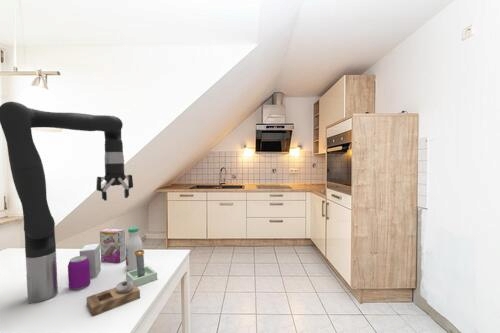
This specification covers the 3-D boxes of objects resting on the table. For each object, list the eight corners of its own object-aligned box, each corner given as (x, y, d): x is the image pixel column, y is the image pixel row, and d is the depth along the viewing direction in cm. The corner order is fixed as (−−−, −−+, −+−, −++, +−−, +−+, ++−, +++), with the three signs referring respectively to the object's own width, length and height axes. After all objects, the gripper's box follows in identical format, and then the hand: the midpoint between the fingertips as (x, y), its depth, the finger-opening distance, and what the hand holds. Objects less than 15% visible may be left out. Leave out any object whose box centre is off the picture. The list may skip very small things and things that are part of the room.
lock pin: (135, 278, 113) (133, 251, 112) (144, 275, 116) (142, 249, 115) (138, 281, 110) (136, 254, 109) (147, 277, 113) (145, 251, 112)
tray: (133, 287, 106) (133, 280, 106) (125, 279, 113) (125, 272, 113) (157, 279, 113) (157, 272, 113) (148, 271, 120) (148, 265, 120)
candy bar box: (100, 262, 132) (99, 231, 131) (107, 258, 137) (105, 228, 136) (120, 263, 130) (118, 232, 129) (126, 259, 135) (125, 229, 134)
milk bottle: (146, 264, 128) (145, 225, 127) (138, 271, 120) (136, 230, 119) (131, 264, 129) (130, 225, 128) (122, 271, 121) (121, 230, 120)
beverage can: (68, 285, 108) (66, 258, 108) (89, 279, 113) (87, 253, 113) (69, 292, 103) (68, 263, 102) (91, 286, 107) (90, 258, 107)
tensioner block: (92, 316, 87) (91, 299, 87) (86, 305, 94) (86, 289, 94) (140, 297, 98) (139, 283, 98) (131, 288, 105) (131, 275, 105)
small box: (86, 271, 121) (85, 244, 121) (101, 269, 123) (100, 243, 123) (80, 279, 114) (79, 250, 113) (96, 277, 116) (95, 249, 115)
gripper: (128, 162, 119) (129, 196, 120) (93, 162, 109) (95, 200, 110) (134, 162, 114) (135, 198, 114) (98, 163, 104) (99, 202, 105)
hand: (115, 199), depth 112 cm, fingers open, 8 cm apart
